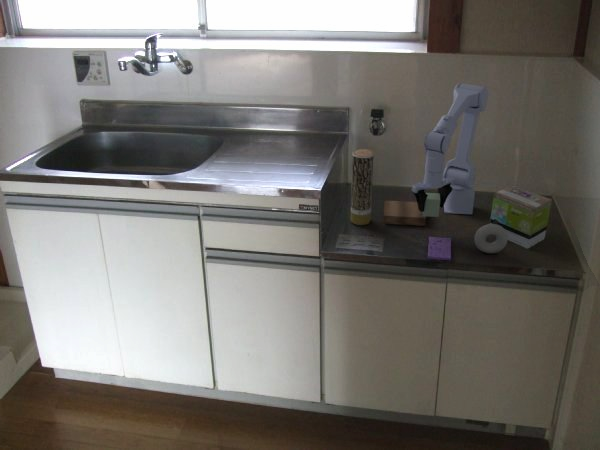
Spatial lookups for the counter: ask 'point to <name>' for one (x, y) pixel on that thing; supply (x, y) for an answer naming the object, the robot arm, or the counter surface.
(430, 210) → the block
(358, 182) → the paper tube
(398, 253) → the counter surface
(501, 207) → the tea box
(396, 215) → the plinth
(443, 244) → the sponges
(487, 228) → the donut
